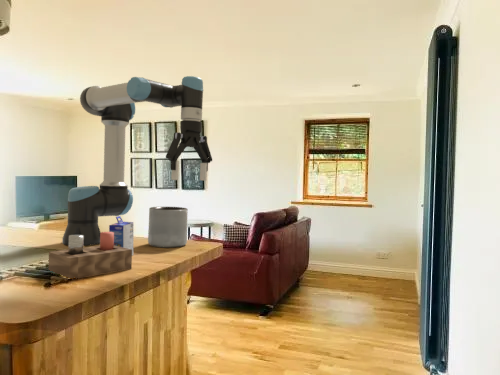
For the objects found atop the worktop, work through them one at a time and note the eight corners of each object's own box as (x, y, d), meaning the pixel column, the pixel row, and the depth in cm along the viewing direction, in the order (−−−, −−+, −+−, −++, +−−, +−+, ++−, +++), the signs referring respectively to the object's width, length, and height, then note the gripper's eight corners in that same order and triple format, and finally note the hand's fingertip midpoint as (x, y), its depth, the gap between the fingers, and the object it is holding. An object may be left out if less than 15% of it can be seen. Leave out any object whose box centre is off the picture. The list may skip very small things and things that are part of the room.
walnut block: (69, 280, 111) (69, 258, 111) (48, 272, 119) (48, 251, 118) (131, 268, 127) (132, 249, 127) (109, 262, 134) (110, 244, 134)
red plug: (97, 250, 126) (97, 232, 126) (108, 248, 129) (109, 231, 129) (104, 252, 124) (104, 234, 123) (116, 250, 127) (116, 232, 127)
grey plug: (65, 254, 118) (66, 235, 118) (78, 252, 121) (79, 234, 121) (72, 256, 116) (73, 237, 116) (85, 254, 119) (86, 235, 119)
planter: (140, 243, 172) (142, 207, 171) (173, 240, 182) (174, 206, 182) (160, 249, 160) (161, 210, 159) (194, 246, 171) (195, 209, 170)
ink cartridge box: (118, 254, 147) (120, 214, 147) (133, 255, 147) (135, 215, 147) (107, 260, 137) (108, 217, 137) (123, 261, 137) (124, 218, 137)
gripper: (170, 115, 134) (168, 179, 135) (222, 124, 153) (220, 181, 154) (156, 117, 139) (154, 179, 139) (208, 125, 158) (206, 180, 159)
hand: (189, 180), depth 147 cm, fingers open, 13 cm apart
